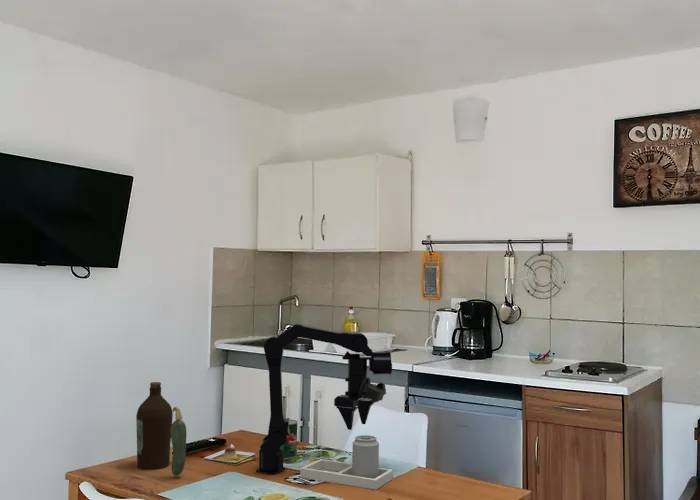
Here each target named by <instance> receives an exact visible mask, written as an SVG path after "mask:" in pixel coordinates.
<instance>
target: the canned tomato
mask: <svg viewBox="0 0 700 500" xmlns="http://www.w3.org/2000/svg"><path fill="white" fill-rule="evenodd" d="M289 429H290V434H289V436H287V441H286V443H285V444H284V445H282V446H281V447H280V449H281V450H282V455H283V456H284V458H283V460H290V459H295V458H297V457H298V420H296V419H291V418H289Z"/></svg>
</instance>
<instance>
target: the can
mask: <svg viewBox="0 0 700 500" xmlns="http://www.w3.org/2000/svg"><path fill="white" fill-rule="evenodd" d="M377 439H378V438H377V437H376V436H374V435H367V434H366V435H365V434H362V435H357V436H355V437H354V441H352V452H351V453H352V454H351V455H352V459H351V461H352V463H351V464H352V476H359V477H365V478H371V479H375V478H376V477H378V476H379V468H380V466H379V465H380V463H379V461H380V460H379V459H380V457H379V455H380V453H379V452H380V443H379V441H377Z"/></svg>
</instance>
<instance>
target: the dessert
mask: <svg viewBox="0 0 700 500" xmlns="http://www.w3.org/2000/svg"><path fill="white" fill-rule="evenodd" d="M256 454H257V453H254V452H249V451H248V452H247V451H240V450H236V448H235V446H234V444H231V443H230V445H229V446H227V447H226V448H225V449H223V450H220V451H217V452H215V453H213V454H211V455H207V456H206V457H204V459H205V460H208V461H215V462H223V463H228V464H229V463H231V464H238V463H239V462H241V461H244V460H246V459H248V458H251V457H253V456H254V455H256ZM222 455H223V456H222ZM238 455H242V456H246V457H244V458H241V459H239V460H237V461H230V460H235V459H238ZM218 456H222V459H216V457H218ZM223 459H225V460H223Z"/></svg>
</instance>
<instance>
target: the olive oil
mask: <svg viewBox="0 0 700 500" xmlns="http://www.w3.org/2000/svg"><path fill="white" fill-rule="evenodd" d="M161 386H162V383H161V382H160V381H152V382H150V383H149V395H148V396H147V398H145V400H144V401H143V402H142V403H141V404H140V405H139V407H138V409H137V412H136V417H135V419H136V467H137V468H138V469H140V470H146V471H150V470H151V471H152V470H153V471H155V470H160V469H164V468H165V469H166V468H167V467H168V466H169V465H170V458H171V455H170V454H171V444H172V442H171V425H172V423H173V419H174V418H173V417H174V415H173V413H174V412H173V408H172V406H171V404H170V403H169V402H168V401H167V400H166V399H165V398H164V397H163V395H162V387H161Z"/></svg>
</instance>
